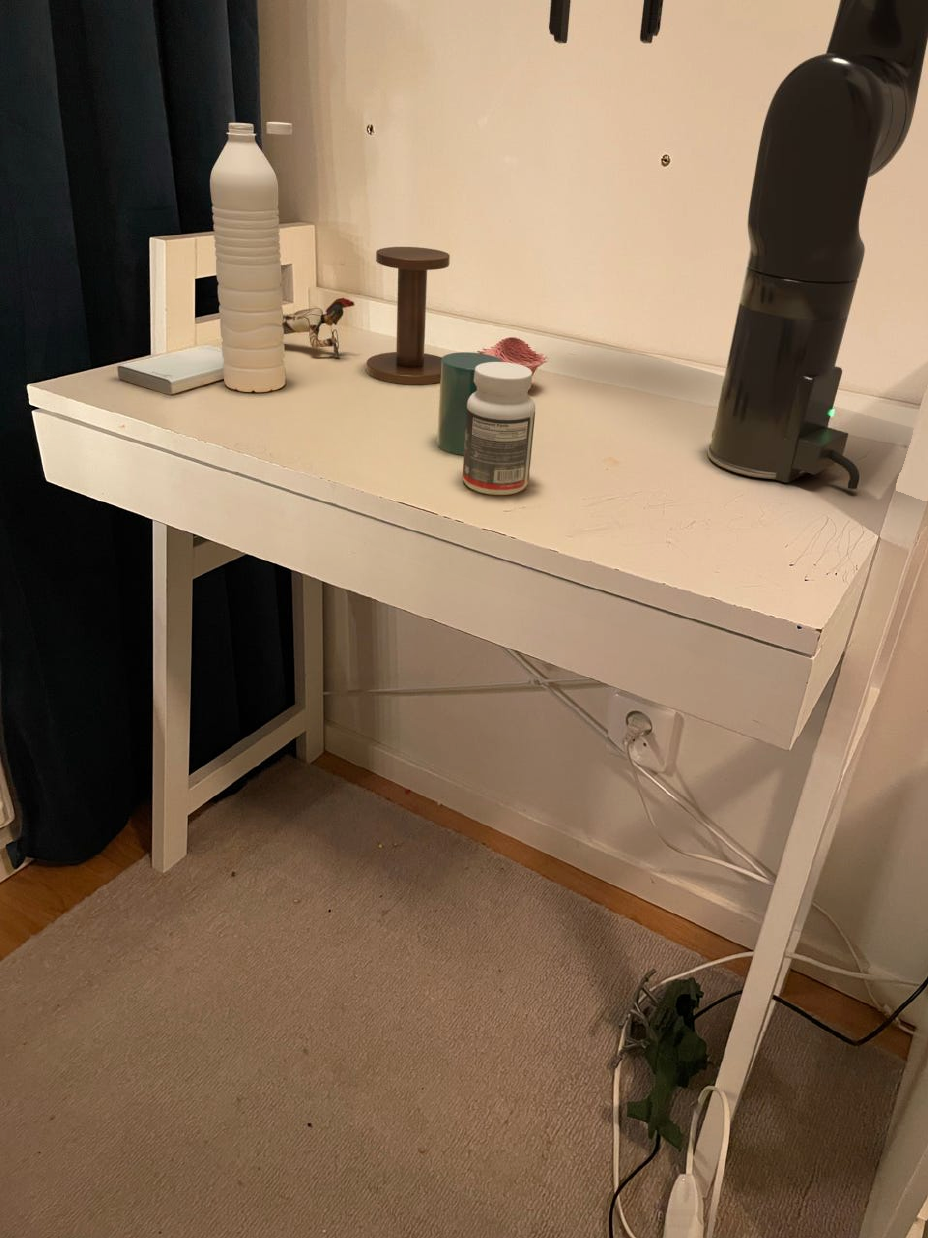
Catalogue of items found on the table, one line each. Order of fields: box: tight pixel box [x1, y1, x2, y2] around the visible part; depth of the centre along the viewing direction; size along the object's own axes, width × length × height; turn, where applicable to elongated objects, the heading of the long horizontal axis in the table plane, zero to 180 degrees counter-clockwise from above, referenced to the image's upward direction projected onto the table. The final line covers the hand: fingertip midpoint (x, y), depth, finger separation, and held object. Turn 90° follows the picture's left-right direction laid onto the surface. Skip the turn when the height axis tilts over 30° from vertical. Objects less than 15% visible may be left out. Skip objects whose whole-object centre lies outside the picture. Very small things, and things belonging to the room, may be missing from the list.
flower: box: [476, 336, 548, 377], centre depth 103 cm, size 8×8×6 cm
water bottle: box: [209, 121, 293, 393], centre depth 95 cm, size 9×6×25 cm
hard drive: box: [116, 344, 224, 395], centre depth 101 cm, size 2×8×12 cm
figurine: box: [282, 297, 355, 359], centre depth 112 cm, size 6×4×15 cm
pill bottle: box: [462, 362, 536, 496], centre depth 78 cm, size 6×6×10 cm
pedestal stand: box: [365, 246, 451, 386], centre depth 104 cm, size 10×10×13 cm
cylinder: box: [436, 351, 502, 456], centre depth 86 cm, size 6×6×8 cm
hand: (602, 41), depth 89 cm, fingers open, 8 cm apart
